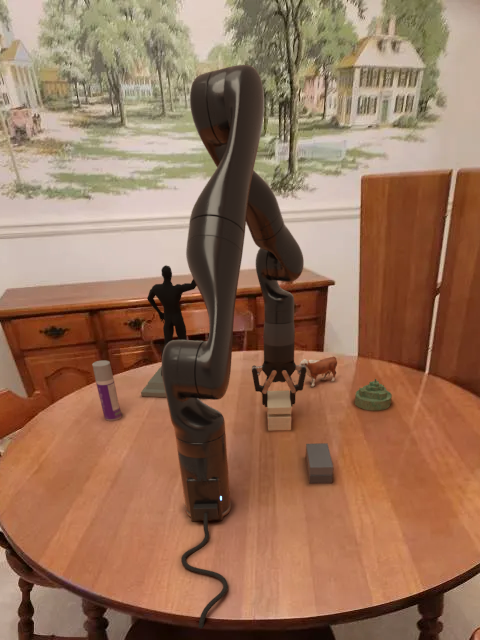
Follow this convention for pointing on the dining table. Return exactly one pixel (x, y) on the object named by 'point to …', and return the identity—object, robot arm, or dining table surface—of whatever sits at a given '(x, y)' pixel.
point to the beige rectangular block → (279, 402)
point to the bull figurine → (320, 368)
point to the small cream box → (279, 421)
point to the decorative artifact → (373, 397)
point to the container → (107, 390)
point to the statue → (167, 322)
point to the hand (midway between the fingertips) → (278, 405)
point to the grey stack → (319, 463)
